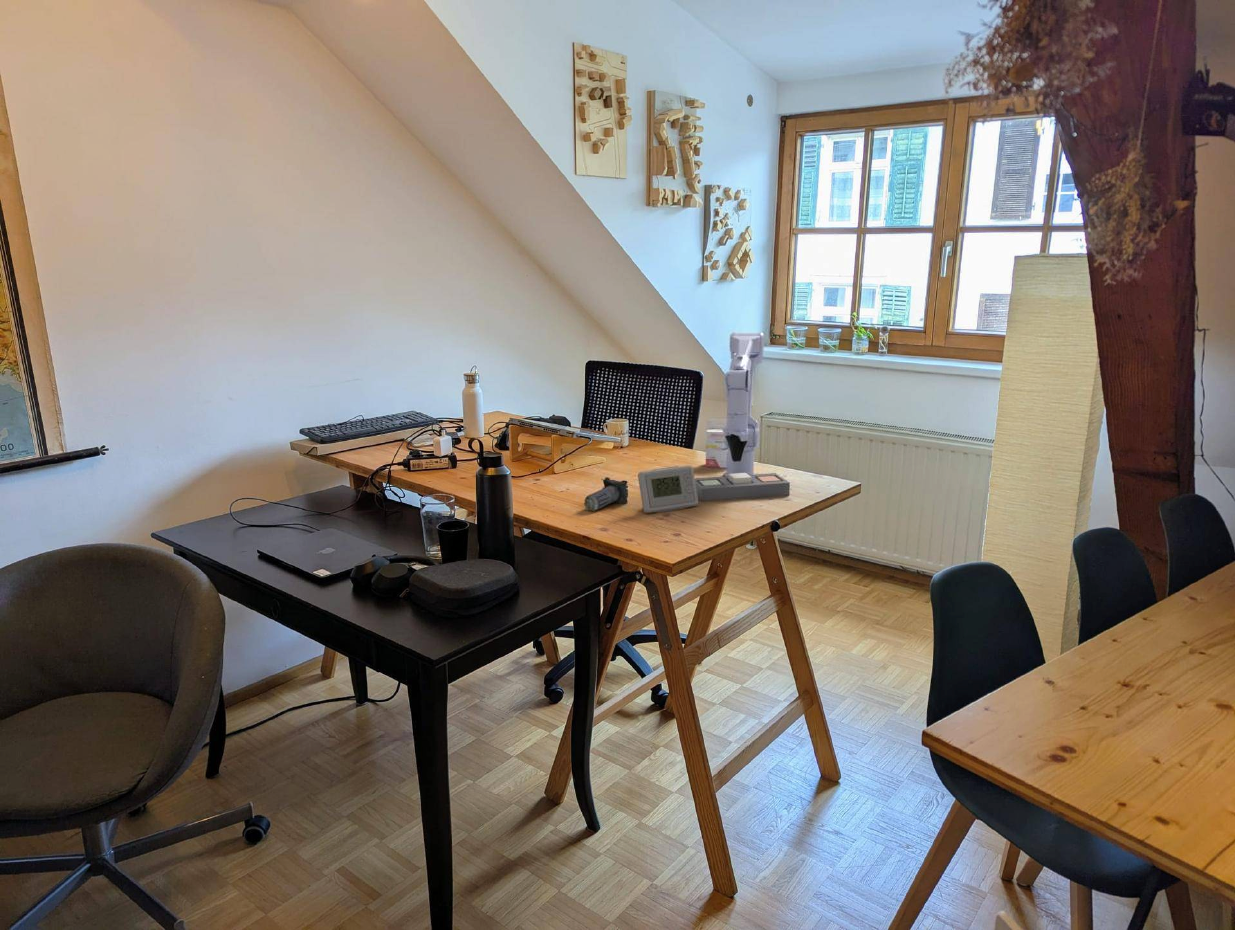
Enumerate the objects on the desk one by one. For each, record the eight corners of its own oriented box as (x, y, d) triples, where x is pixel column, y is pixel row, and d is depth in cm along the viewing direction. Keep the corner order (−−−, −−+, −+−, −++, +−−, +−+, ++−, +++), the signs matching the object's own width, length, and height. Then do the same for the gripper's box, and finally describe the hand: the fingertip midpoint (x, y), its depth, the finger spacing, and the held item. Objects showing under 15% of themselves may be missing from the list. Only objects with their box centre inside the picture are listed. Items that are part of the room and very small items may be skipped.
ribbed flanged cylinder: (608, 503, 219) (581, 517, 210) (603, 477, 218) (574, 489, 209) (634, 503, 214) (607, 516, 204) (628, 475, 212) (600, 487, 203)
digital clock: (642, 515, 204) (641, 475, 201) (634, 505, 212) (634, 467, 210) (702, 510, 207) (702, 471, 204) (692, 500, 215) (692, 463, 213)
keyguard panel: (691, 490, 225) (691, 478, 224) (774, 484, 229) (775, 473, 228) (701, 501, 214) (701, 488, 214) (789, 494, 219) (789, 482, 218)
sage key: (699, 487, 222) (699, 480, 222) (716, 485, 223) (716, 479, 222) (704, 491, 217) (704, 485, 217) (721, 490, 218) (721, 484, 218)
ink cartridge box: (705, 467, 250) (705, 422, 246) (705, 464, 255) (705, 419, 251) (733, 467, 249) (733, 422, 246) (732, 464, 254) (733, 419, 250)
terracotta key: (757, 483, 225) (757, 476, 224) (773, 481, 226) (774, 475, 225) (763, 487, 220) (763, 481, 219) (780, 486, 221) (780, 480, 220)
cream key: (728, 480, 223) (728, 473, 223) (745, 478, 224) (745, 472, 223) (734, 484, 218) (734, 478, 218) (751, 483, 219) (751, 477, 219)
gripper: (716, 409, 225) (715, 455, 228) (730, 418, 211) (730, 468, 214) (739, 408, 226) (739, 454, 229) (756, 417, 212) (755, 466, 215)
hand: (736, 460), depth 222 cm, fingers closed
